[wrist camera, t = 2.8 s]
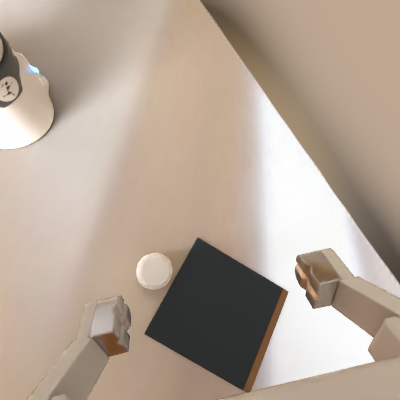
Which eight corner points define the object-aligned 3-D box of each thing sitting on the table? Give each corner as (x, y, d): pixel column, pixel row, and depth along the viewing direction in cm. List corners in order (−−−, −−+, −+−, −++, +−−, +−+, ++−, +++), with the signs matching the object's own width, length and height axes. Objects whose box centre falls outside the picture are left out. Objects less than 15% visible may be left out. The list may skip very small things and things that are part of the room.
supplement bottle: (169, 286, 43) (175, 290, 34) (137, 288, 42) (134, 293, 33) (168, 254, 45) (174, 250, 35) (137, 255, 43) (134, 251, 34)
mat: (144, 333, 40) (144, 334, 40) (197, 237, 46) (198, 237, 46) (248, 393, 41) (249, 394, 41) (287, 291, 47) (288, 291, 47)
